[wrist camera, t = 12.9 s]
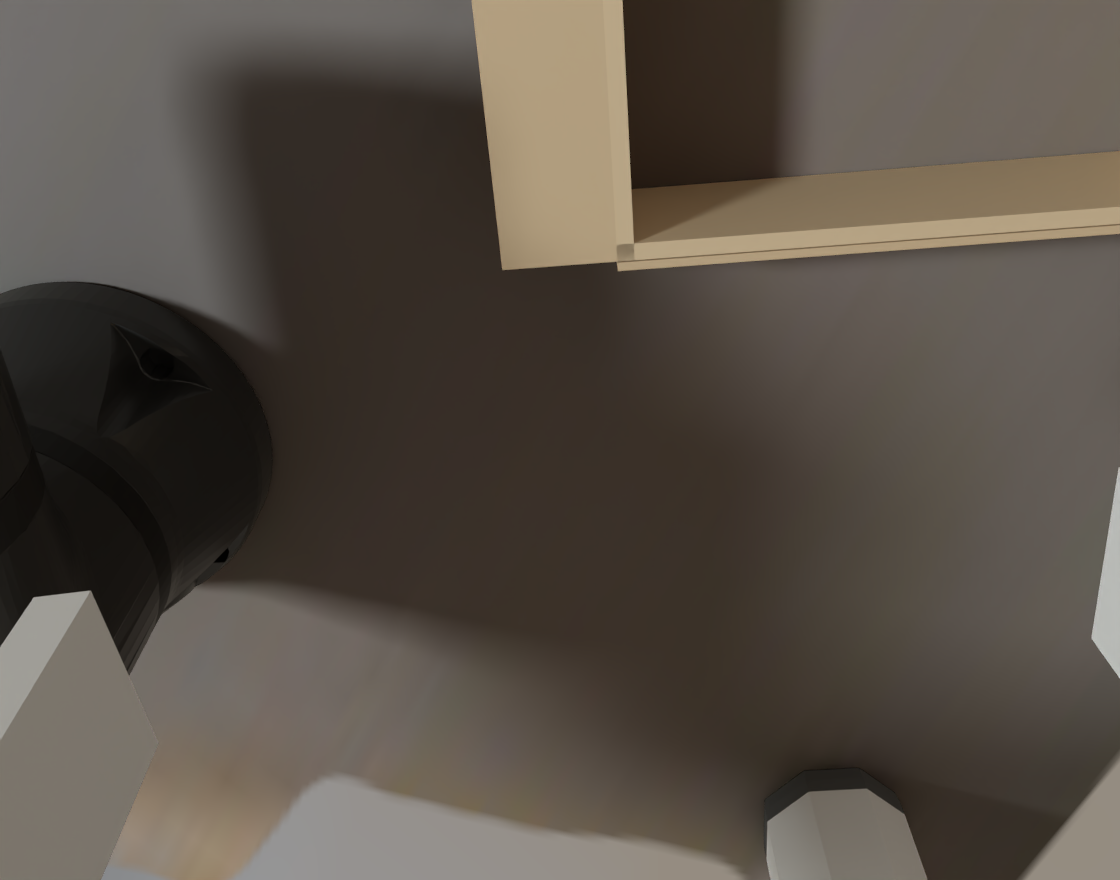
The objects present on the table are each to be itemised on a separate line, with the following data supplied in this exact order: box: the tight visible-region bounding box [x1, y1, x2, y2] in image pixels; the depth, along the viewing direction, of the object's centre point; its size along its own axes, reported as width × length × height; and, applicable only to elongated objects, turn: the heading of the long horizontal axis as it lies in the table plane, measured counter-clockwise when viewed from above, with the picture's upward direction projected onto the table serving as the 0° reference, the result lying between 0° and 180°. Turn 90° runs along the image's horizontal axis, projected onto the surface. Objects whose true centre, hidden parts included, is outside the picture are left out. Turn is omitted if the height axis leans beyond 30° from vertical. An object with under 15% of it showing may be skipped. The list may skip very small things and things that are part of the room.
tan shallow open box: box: [472, 0, 1120, 271], centre depth 35 cm, size 29×15×6 cm, turn 95°
